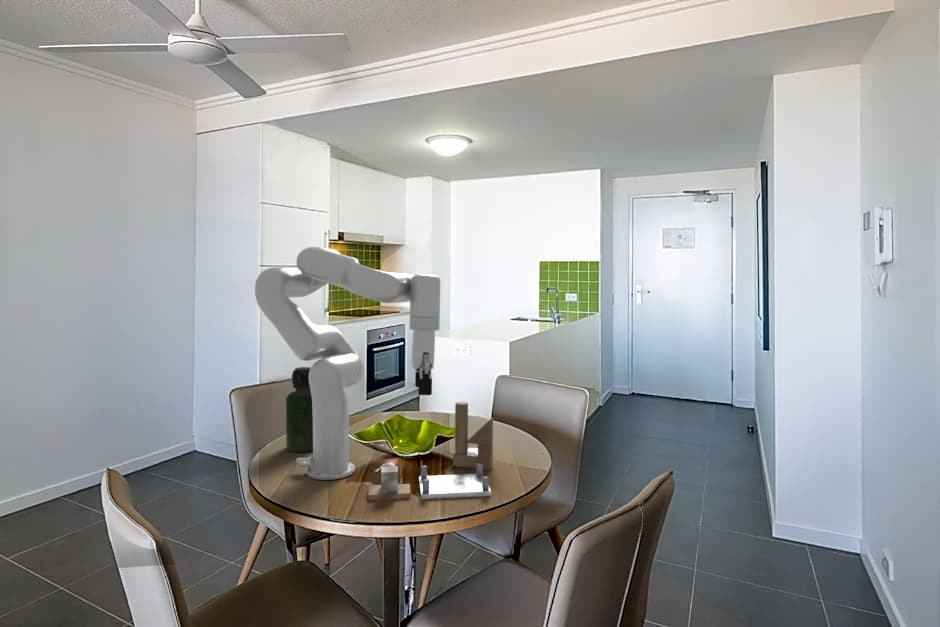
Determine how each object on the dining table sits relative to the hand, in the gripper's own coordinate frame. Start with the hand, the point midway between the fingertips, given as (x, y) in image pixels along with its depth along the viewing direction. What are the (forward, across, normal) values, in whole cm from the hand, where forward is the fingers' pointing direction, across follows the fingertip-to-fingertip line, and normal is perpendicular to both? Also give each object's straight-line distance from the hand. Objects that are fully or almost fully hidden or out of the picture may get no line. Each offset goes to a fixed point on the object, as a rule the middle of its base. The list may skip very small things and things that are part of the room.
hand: (423, 390), depth 134 cm
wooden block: (+24, -11, +16) cm, 31 cm away
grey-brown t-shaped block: (+25, +5, -8) cm, 27 cm away
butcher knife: (+25, -19, +17) cm, 36 cm away
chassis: (+24, +4, +8) cm, 26 cm away
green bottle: (+26, -36, -33) cm, 55 cm away
